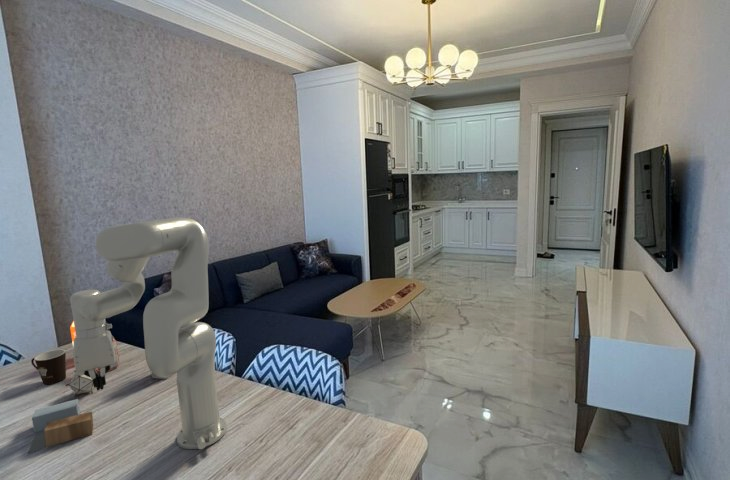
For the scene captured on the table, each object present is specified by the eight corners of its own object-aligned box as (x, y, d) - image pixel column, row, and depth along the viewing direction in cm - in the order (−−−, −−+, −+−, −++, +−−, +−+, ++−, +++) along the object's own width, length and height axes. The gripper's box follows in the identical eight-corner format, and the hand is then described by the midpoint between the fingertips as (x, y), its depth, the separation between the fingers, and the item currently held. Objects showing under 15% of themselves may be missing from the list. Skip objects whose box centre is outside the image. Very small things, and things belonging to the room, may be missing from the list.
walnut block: (90, 419, 105) (44, 431, 100) (92, 434, 106) (46, 446, 100) (92, 411, 109) (47, 422, 104) (93, 425, 109) (49, 437, 104)
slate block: (76, 406, 111) (31, 418, 106) (78, 420, 112) (34, 432, 107) (77, 398, 115) (35, 410, 110) (80, 412, 116) (37, 424, 111)
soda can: (111, 373, 141) (107, 342, 139) (93, 373, 141) (88, 343, 139) (124, 363, 148) (119, 334, 146) (106, 364, 148) (101, 335, 146)
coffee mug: (73, 378, 138) (69, 352, 136) (44, 389, 130) (39, 362, 129) (60, 370, 144) (56, 345, 142) (32, 380, 137) (27, 355, 135)
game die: (87, 405, 127) (77, 392, 120) (67, 395, 128) (55, 381, 121) (109, 381, 133) (100, 368, 126) (89, 372, 134) (79, 358, 127)
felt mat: (66, 441, 103) (66, 440, 103) (27, 453, 99) (27, 452, 99) (74, 410, 117) (73, 409, 117) (40, 419, 113) (40, 419, 113)
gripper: (121, 322, 120) (128, 375, 123) (61, 333, 112) (71, 390, 115) (120, 329, 114) (129, 385, 117) (57, 341, 106) (68, 402, 109)
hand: (100, 387), depth 116 cm, fingers closed
